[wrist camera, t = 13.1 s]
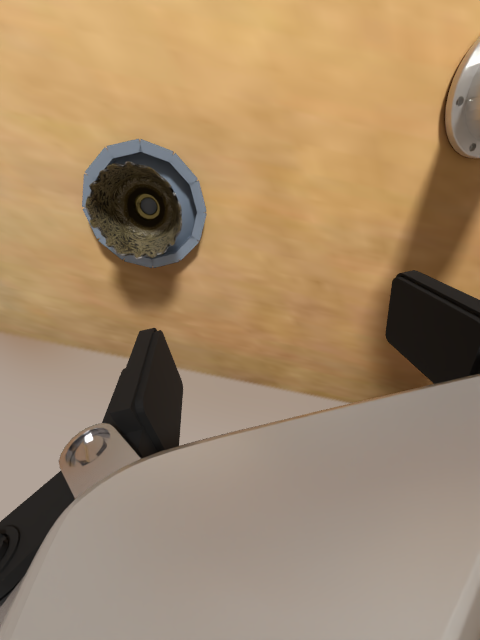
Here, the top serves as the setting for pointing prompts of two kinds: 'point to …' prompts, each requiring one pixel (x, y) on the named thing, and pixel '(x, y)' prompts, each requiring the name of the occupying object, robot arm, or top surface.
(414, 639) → the robot arm
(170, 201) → the cup
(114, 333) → the top surface
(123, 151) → the dish
